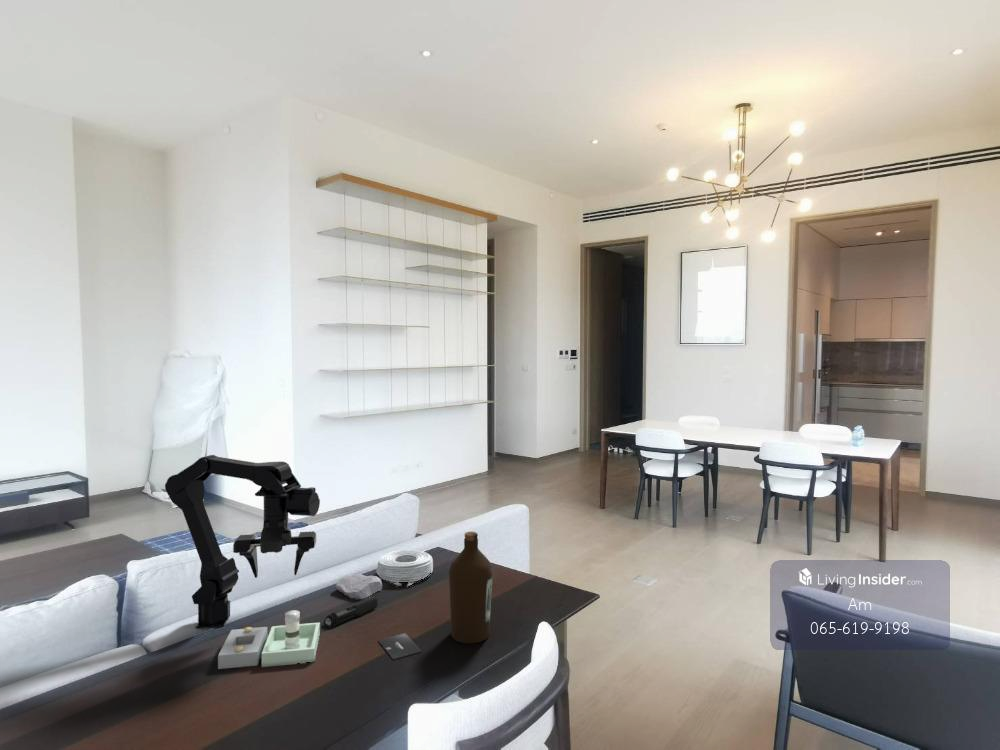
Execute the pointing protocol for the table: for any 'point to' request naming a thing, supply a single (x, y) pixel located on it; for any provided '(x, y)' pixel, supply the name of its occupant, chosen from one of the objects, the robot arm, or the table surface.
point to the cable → (405, 566)
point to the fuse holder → (243, 647)
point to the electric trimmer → (350, 613)
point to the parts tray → (279, 656)
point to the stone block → (359, 585)
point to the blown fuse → (292, 630)
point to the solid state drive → (399, 646)
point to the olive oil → (470, 593)
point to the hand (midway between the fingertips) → (276, 576)
